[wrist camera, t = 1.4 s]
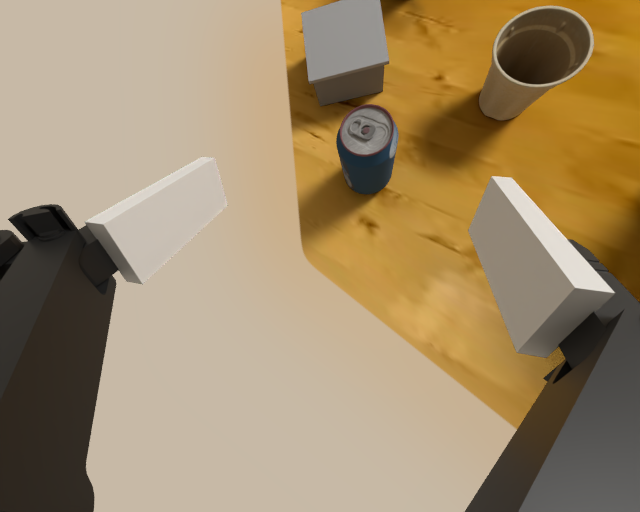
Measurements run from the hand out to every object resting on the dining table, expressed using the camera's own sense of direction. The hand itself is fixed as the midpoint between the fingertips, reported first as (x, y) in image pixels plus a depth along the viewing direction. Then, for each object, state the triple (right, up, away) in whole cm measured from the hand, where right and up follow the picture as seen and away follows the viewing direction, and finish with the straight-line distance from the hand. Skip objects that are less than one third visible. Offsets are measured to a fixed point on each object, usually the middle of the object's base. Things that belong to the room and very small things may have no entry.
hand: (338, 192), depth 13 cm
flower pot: (+25, +19, +23) cm, 39 cm away
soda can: (+6, +9, +26) cm, 28 cm away
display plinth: (+3, +27, +28) cm, 39 cm away
